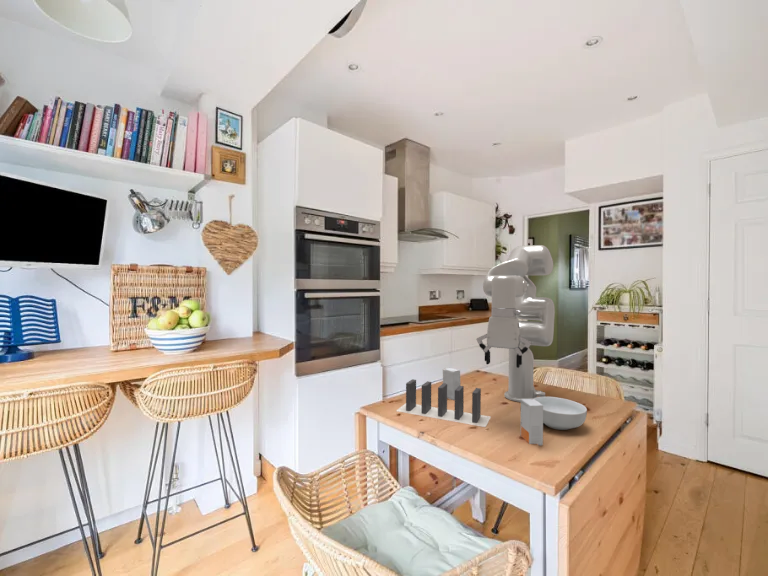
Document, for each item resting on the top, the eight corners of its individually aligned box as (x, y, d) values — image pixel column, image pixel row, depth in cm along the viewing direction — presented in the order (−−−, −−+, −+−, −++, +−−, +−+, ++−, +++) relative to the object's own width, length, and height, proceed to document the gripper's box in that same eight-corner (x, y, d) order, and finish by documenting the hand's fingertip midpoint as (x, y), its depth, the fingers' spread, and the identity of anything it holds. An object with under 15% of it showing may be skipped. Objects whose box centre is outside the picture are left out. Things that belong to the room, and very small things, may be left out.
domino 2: (431, 408, 133) (431, 381, 133) (425, 414, 128) (425, 386, 128) (427, 407, 134) (427, 381, 134) (421, 413, 129) (421, 385, 128)
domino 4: (463, 414, 128) (463, 386, 128) (459, 419, 123) (459, 390, 122) (458, 413, 129) (459, 385, 128) (454, 419, 123) (454, 390, 123)
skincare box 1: (461, 399, 145) (461, 369, 145) (454, 402, 142) (454, 371, 142) (449, 395, 150) (449, 366, 150) (442, 398, 147) (442, 368, 147)
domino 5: (480, 417, 125) (480, 388, 125) (476, 423, 120) (477, 393, 120) (475, 416, 126) (476, 387, 126) (472, 422, 121) (472, 392, 120)
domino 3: (437, 416, 126) (438, 387, 126) (442, 410, 131) (442, 383, 131) (442, 416, 125) (442, 388, 125) (447, 411, 131) (447, 383, 130)
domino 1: (416, 406, 136) (416, 379, 136) (410, 411, 131) (410, 383, 130) (412, 405, 137) (412, 379, 136) (406, 410, 131) (406, 383, 131)
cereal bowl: (567, 440, 108) (567, 417, 108) (520, 422, 122) (520, 401, 122) (597, 428, 117) (597, 407, 117) (550, 412, 131) (550, 393, 131)
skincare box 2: (519, 437, 111) (520, 398, 110) (533, 436, 111) (533, 398, 111) (529, 446, 105) (529, 405, 104) (543, 445, 105) (544, 405, 105)
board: (491, 418, 126) (491, 416, 126) (485, 428, 117) (485, 427, 117) (406, 404, 140) (406, 402, 140) (395, 412, 131) (395, 410, 131)
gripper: (532, 313, 118) (532, 365, 118) (479, 311, 126) (478, 360, 126) (530, 315, 111) (530, 370, 111) (474, 313, 119) (473, 364, 119)
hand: (502, 365), depth 119 cm, fingers open, 9 cm apart
